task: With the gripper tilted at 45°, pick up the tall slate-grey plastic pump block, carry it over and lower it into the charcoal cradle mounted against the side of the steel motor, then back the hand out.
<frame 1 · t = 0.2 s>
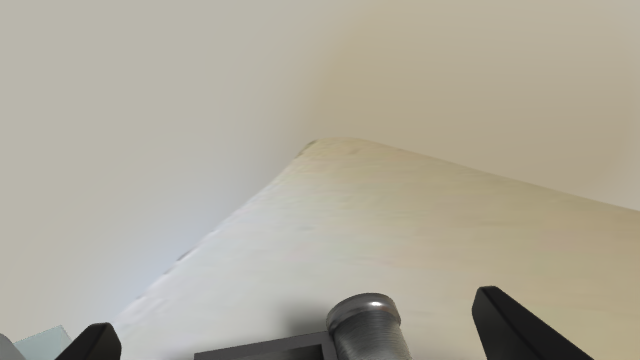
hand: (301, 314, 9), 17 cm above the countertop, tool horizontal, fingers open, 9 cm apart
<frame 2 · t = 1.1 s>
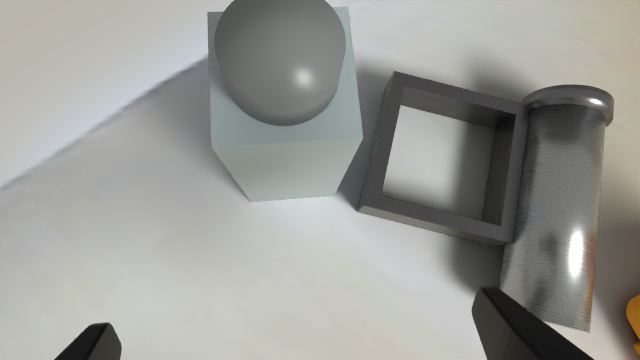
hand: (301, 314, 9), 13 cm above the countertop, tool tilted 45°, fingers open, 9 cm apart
pump: (289, 158, 24), on the countertop
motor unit: (435, 164, 25), on the countertop
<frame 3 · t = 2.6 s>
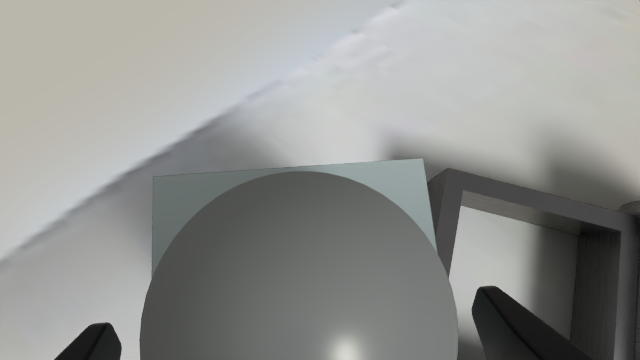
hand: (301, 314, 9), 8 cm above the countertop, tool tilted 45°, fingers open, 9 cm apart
pump: (299, 283, 17), on the countertop
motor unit: (501, 289, 18), on the countertop
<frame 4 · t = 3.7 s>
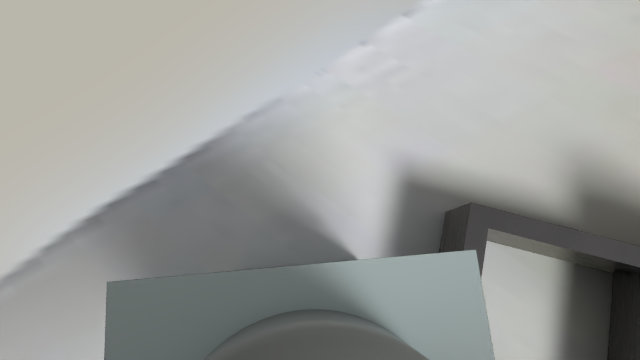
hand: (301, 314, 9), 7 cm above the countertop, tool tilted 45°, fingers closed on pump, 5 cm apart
pump: (302, 330, 15), on the countertop, touching gripper
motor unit: (527, 335, 16), on the countertop
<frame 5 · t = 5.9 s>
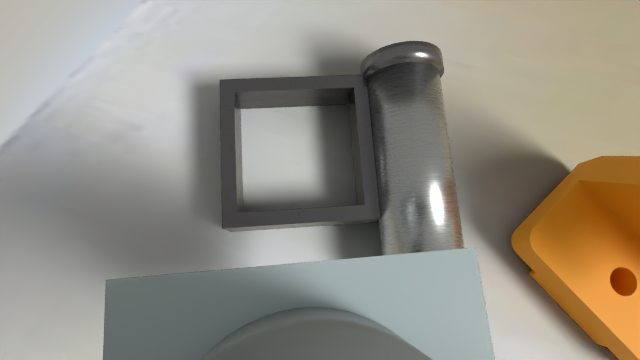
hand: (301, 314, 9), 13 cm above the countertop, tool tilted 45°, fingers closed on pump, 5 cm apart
pump: (302, 329, 15), point 7 cm above the countertop, touching gripper
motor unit: (298, 158, 24), on the countertop
bracket: (595, 266, 24), on the countertop
when the fingers open (8 cm above the countertop, at t = 8.2 s): pump drops 2 cm, resting in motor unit.
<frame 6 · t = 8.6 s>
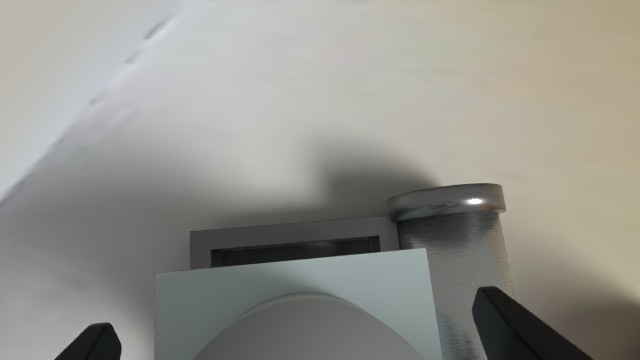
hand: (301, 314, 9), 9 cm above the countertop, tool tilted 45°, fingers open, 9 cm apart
pump: (300, 321, 17), resting in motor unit
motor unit: (301, 322, 17), on the countertop
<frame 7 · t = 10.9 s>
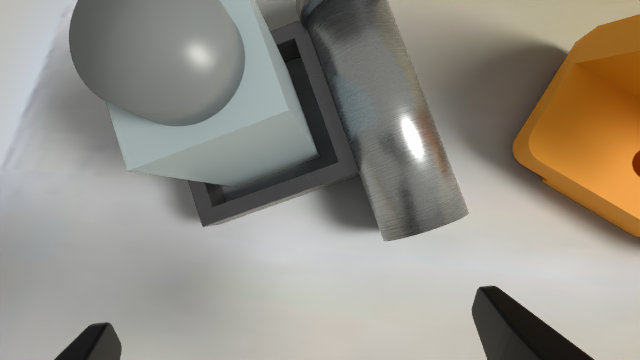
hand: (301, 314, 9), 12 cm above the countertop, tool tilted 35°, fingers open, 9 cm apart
pump: (263, 130, 22), resting in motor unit
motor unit: (264, 131, 22), on the countertop
bracket: (618, 152, 21), on the countertop
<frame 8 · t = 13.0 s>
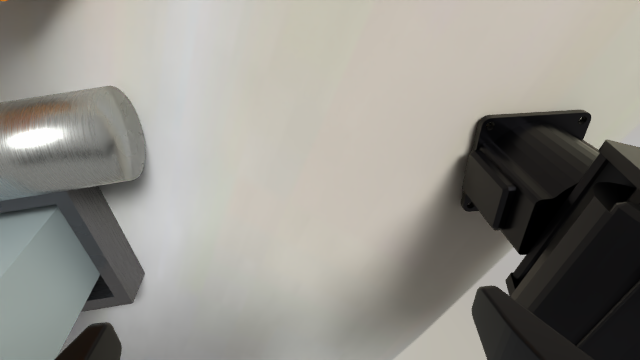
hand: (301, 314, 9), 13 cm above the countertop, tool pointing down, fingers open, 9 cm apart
pump: (47, 235, 23), resting in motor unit
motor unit: (47, 234, 23), on the countertop
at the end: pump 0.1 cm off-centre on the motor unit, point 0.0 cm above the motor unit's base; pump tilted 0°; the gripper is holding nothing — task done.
